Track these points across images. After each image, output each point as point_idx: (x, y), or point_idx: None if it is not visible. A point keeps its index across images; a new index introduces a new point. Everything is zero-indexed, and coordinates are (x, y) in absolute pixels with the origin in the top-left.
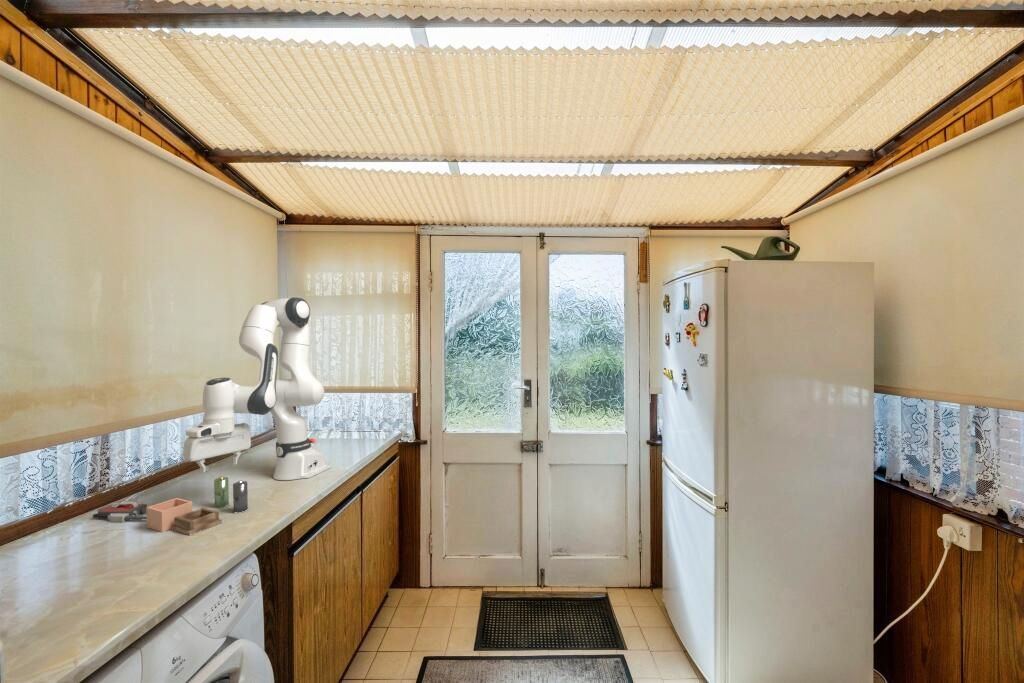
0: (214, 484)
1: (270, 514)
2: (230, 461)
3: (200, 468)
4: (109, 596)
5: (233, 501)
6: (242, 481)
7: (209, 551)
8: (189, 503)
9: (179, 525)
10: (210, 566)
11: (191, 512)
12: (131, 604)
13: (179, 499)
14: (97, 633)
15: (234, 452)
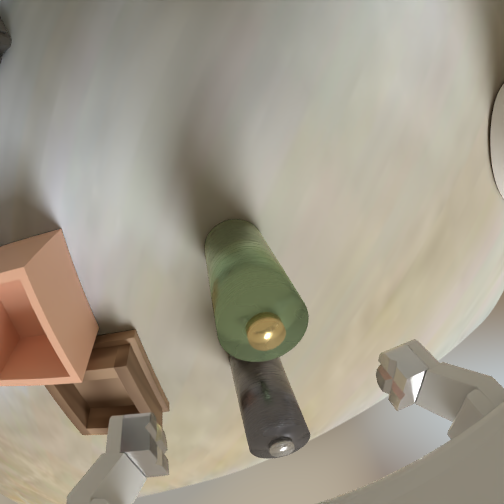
0: (214, 313)
1: None
2: (396, 378)
3: (107, 440)
4: (11, 469)
5: (236, 385)
6: (287, 453)
7: None
8: (73, 380)
9: None
10: None
11: (85, 377)
12: (40, 491)
13: (33, 306)
14: (27, 497)
15: (465, 426)
